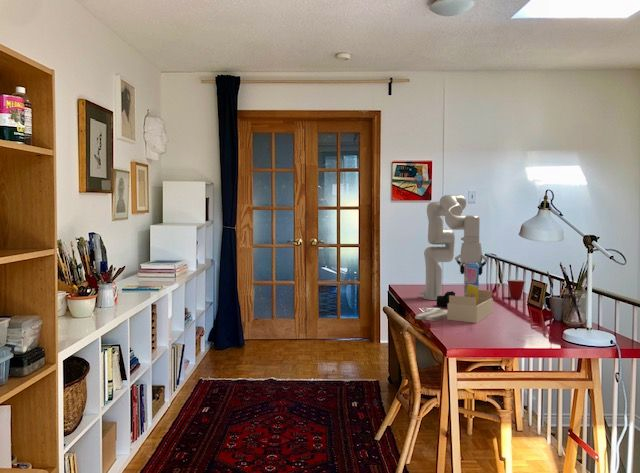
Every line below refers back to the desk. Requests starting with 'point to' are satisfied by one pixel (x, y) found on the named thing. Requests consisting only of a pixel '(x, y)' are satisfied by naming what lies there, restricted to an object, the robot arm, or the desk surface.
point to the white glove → (432, 315)
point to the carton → (470, 307)
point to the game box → (471, 280)
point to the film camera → (444, 299)
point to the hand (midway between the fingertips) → (471, 274)
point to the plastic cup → (516, 288)
